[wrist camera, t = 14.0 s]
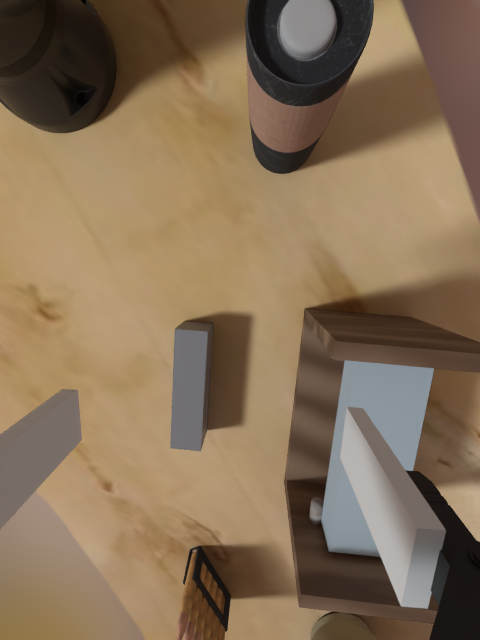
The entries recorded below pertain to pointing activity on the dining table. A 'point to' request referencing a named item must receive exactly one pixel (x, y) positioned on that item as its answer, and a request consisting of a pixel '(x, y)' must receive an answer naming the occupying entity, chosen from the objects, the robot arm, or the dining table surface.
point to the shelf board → (395, 427)
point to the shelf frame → (316, 444)
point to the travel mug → (299, 71)
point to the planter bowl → (341, 628)
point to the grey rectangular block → (191, 384)
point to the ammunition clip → (203, 601)
